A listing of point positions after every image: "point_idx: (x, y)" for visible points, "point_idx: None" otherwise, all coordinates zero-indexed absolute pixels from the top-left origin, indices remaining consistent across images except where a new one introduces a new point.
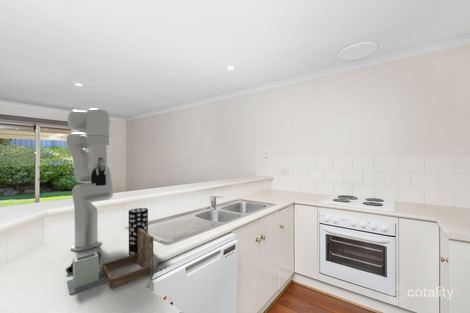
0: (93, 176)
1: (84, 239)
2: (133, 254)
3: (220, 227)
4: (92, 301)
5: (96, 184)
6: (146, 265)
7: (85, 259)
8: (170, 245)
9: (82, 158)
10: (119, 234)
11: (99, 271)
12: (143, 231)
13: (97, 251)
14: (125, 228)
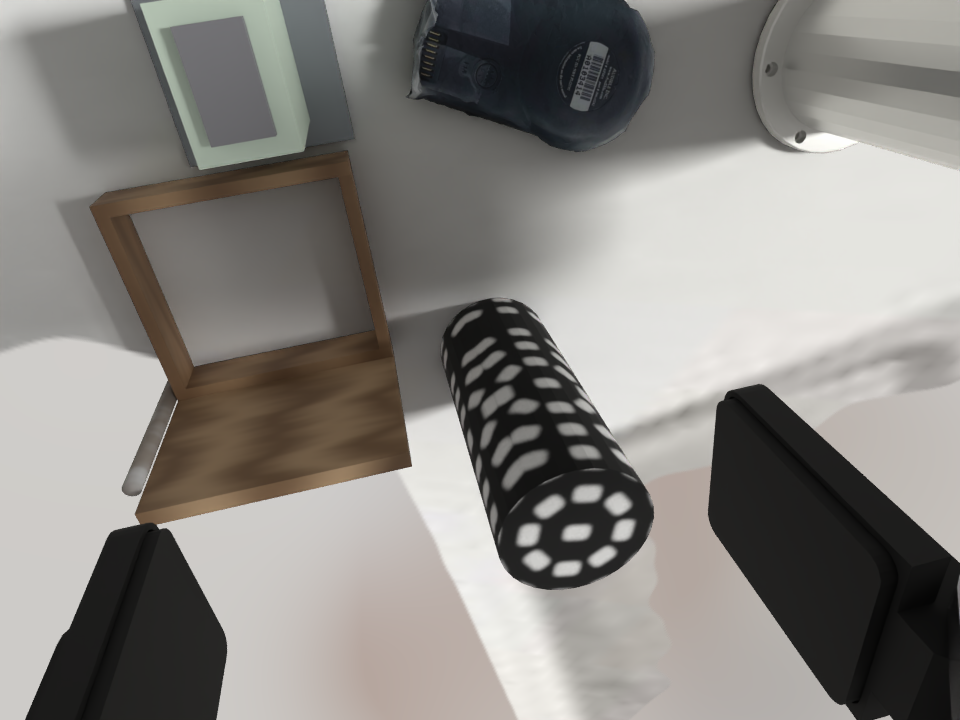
0: (817, 538)
1: (824, 48)
2: (455, 324)
3: (556, 705)
4: (3, 101)
5: (110, 552)
6: (210, 381)
7: (168, 81)
8: None
9: None
10: (871, 263)
11: (344, 138)
12: (304, 481)
13: (608, 133)
14: (949, 302)
